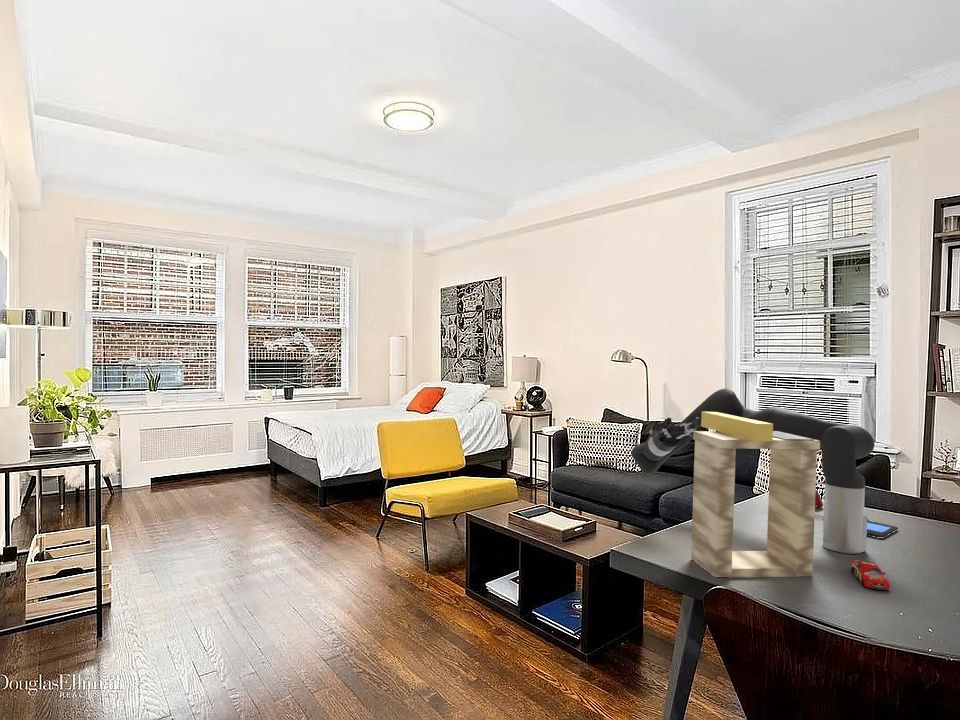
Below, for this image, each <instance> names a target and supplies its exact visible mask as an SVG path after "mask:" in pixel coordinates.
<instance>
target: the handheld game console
mask: <svg viewBox="0 0 960 720" xmlns="http://www.w3.org/2000/svg"><path fill="white" fill-rule="evenodd" d="M897 529H898V530H899V527H897V526H894V525H890V524H886V523H882V522H881V523H879V522H876V521H870V520H869V518H868V517H867V535H870V536H875V537H885V536H887V535H888V534H890V533H892V532H893V531H895V530H897ZM887 537H888V536H887ZM885 538H886V537H885Z"/></svg>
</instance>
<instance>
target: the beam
mask: <svg viewBox="0 0 960 720" xmlns="http://www.w3.org/2000/svg"><path fill="white" fill-rule="evenodd" d="M700 428H705V429H709V430H712V431H715V432H723V433H727V434H731V435H734V436H738V437H742V438H745V439H749V440H753V441H773V424H771V423H767V422H762V421H757V420H752V419H748V418H743V417H738V416H733V415H728V414H724V413H719V412H702V417H701V425H700Z"/></svg>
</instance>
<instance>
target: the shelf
mask: <svg viewBox="0 0 960 720" xmlns="http://www.w3.org/2000/svg"><path fill="white" fill-rule="evenodd" d="M692 440H694V459H693V461H694V463H693V487H692V489H693V490H692V493H693V494H692V517H691V518H692V520H691V521H692V522H691V525H692V527H691V552H690V553H691V555H690V559H691V558H692V559H693V560H694V561H696V562H697V563H698V564H700V565H701V566H702V567H703V568H705V569H706V570H707V571H708V572H710V573H711V574H712V575H713V576H715V577H729V578H772V577H773V578H777V577H778V578H786V577H789V578H790V577H791V578H792V577H793V578H795V577H813V571H814V567H813V566H814V544H815V543H814V542H815V516H816V515H815V514H816V513H815V511H816V507H815V491H816V490H817V489H816V486H817V485H816V484H817V462H818V461H817V459H818V458H817V457H818V454H817V452H818V450H821V446H820V441H819V440H815V439H810V438H806V437H801V436H797V435H793V434H788V433H784V432H779V431H773V441H753V440H749V439H745V438H742V437H738V436H734V435H731V434H727V433H723V432H720V431H715V430H712V431H707V430H706V431H705V430H704V431H703V430H701V431H693V438H692ZM738 449H740V450H741V449H744V450H745V449H750V450H754V449H756V450H758V449H759V450H769V477H768V478H769V480H768V481H769V482H768V503H767V504H768V506H767V508H768V509H767V511H768V512H767V533H766V537H767V538H766V539H767V540H766V550H733V543H734V540H733V538H734V514H735V513H734V511H735V509H734V508H735V507H734V506H735V485H736V482H735V481H736V480H735V479H736V458H737V457H736V455H737V452H736V451H737V450H738ZM694 561H693V562H694ZM698 564H697V565H698ZM702 567H701V568H702ZM703 568H702V569H703ZM706 570H705V571H706ZM707 571H706V572H707ZM708 572H707V573H708ZM711 574H710V575H711ZM712 575H711V576H712ZM713 576H712V577H713ZM715 577H714V578H715Z"/></svg>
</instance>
